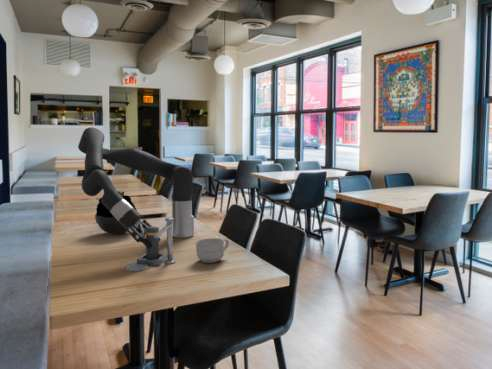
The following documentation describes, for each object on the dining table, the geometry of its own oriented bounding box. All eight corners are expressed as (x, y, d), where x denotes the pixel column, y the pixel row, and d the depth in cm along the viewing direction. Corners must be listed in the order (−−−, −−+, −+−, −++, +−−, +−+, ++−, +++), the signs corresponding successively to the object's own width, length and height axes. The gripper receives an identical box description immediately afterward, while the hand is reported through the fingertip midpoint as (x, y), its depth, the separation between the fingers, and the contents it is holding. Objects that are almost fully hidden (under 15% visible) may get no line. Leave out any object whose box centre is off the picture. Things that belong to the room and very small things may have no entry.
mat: (143, 263, 162) (143, 262, 162) (151, 268, 156) (151, 267, 156) (122, 266, 158) (122, 265, 158) (130, 272, 151) (130, 271, 151)
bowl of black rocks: (145, 235, 206) (144, 196, 203) (102, 241, 194) (101, 200, 192) (130, 227, 222) (129, 191, 220) (90, 232, 211) (89, 194, 208)
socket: (145, 257, 170) (145, 252, 169) (167, 258, 168) (167, 253, 168) (136, 264, 161) (136, 259, 160) (160, 265, 160) (159, 260, 159)
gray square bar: (166, 225, 164) (166, 217, 163) (174, 225, 163) (174, 217, 163) (151, 238, 144) (151, 229, 143) (160, 238, 143) (160, 229, 143)
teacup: (202, 266, 158) (201, 245, 157) (191, 259, 168) (191, 238, 167) (236, 261, 165) (236, 241, 164) (224, 254, 174) (224, 235, 173)
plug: (155, 258, 168) (155, 225, 167) (161, 261, 164) (161, 228, 163) (143, 260, 165) (143, 227, 164) (149, 263, 161) (149, 229, 160)
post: (172, 260, 166) (172, 219, 164) (177, 262, 163) (176, 221, 161) (163, 261, 164) (162, 221, 162) (167, 264, 161) (166, 222, 159)
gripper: (126, 216, 171) (155, 246, 171) (110, 224, 157) (141, 256, 157) (139, 204, 170) (167, 233, 170) (124, 210, 156) (155, 242, 156)
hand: (155, 244), depth 164 cm, fingers open, 8 cm apart
